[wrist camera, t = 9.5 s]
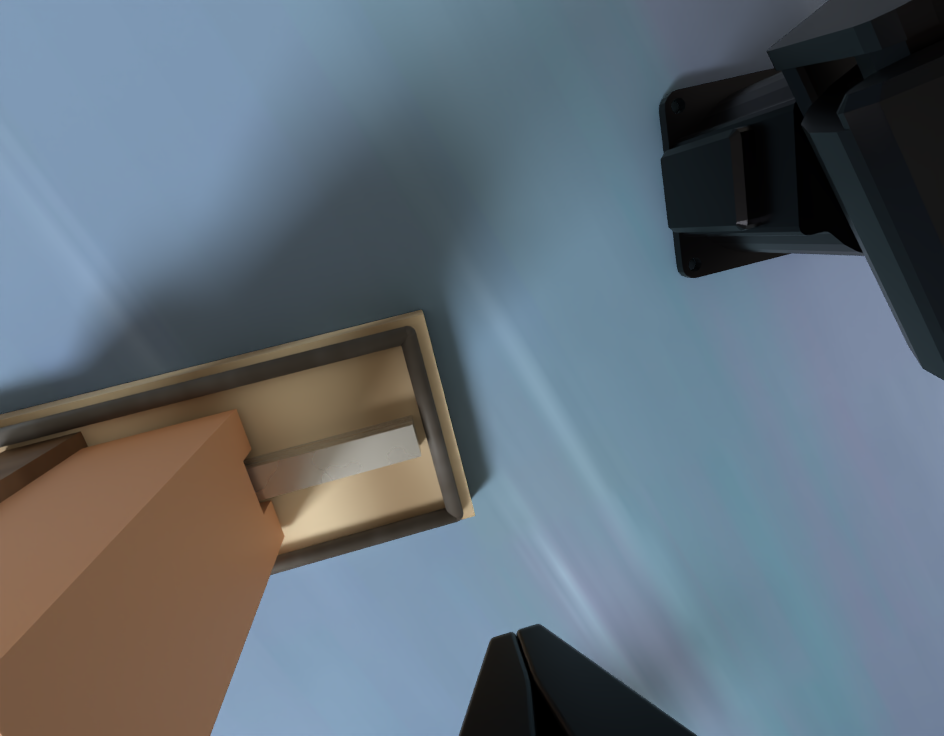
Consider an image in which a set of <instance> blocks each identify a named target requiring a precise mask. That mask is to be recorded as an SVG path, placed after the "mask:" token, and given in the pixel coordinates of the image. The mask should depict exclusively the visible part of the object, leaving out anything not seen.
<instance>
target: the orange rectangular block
mask: <svg viewBox="0 0 944 736" xmlns="http://www.w3.org/2000/svg"><path fill="white" fill-rule="evenodd" d="M250 451H251V446H250V443H249V441H248V438H247V435H246V433H245V430H244V428H243V425H242V422H241V420H240V417H239V414H238V412H237V409H233V410H230V411H226V412H222V413H218V414H214V415H210V416H206V417H202V418H198V419H195V420H191V421H187V422H183V423H179V424H175V425H171V426H167V427H164V428H160V429H156V430H152V431H148V432H144V433H140V434H136V435H132V436H129V437H125V438H121V439H117V440H113V441H109V442H105V443H101V444H98V445H94V446H90V447H86V448H82V449H81V450H79V451H77V452H76V453H74V454H73V455H71V456H70V457H68V458H67V459H65V460H64V461H62V462H61V463H59V464H58V465H56V466H55V467H53V468H52V469H50V470H49V471H47V472H46V473H44V474H43V475H41V476H40V477H38V478H37V479H35V480H34V481H32V482H31V483H29V484H28V485H26V486H25V487H23V488H22V489H20V490H19V491H17V492H16V493H14V494H13V495H11V496H10V497H8V498H7V499H5V500H4V501H2V502H1V503H0V736H210V734H211V732H212V729H213V726H214V724H215V721H216V718H217V716H218V713H219V710H220V708H221V705H222V702H223V700H224V697H225V694H226V692H227V689H228V686H229V684H230V681H231V678H232V676H233V673H234V670H235V668H236V665H237V662H238V660H239V657H240V654H241V652H242V649H243V646H244V644H245V641H246V638H247V636H248V633H249V630H250V628H251V625H252V622H253V620H254V617H255V614H256V612H257V609H258V606H259V604H260V601H261V598H262V596H263V593H264V590H265V587H266V585H267V582H268V579H269V577H270V574H271V571H272V569H273V566H274V563H275V561H276V558H277V555H278V553H279V550H280V547H281V545H282V542H283V539H284V537H285V536H284V533H283V531H282V528H281V525H280V523H279V520H278V517H277V515H276V512H275V509H274V507H273V504H272V502H271V500H269V501H266V502H262V503H259V501H258V498H257V496H256V493H255V491H254V488H253V485H252V483H251V480H250V478H249V475H248V472H247V470H246V467H245V465H244V462H243V461H244V459H245V458H246V457H247V455H248V454H249V452H250Z"/></svg>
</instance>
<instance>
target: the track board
mask: <svg viewBox="0 0 944 736" xmlns="http://www.w3.org/2000/svg"><path fill="white" fill-rule="evenodd" d="M233 409H237V412H238V414H239V417H240V420H241V422H242V425H243V428H244V430H245V433H246V435H247V438H248V441H249V443H250V446H251V451H250V452H249V454H248V455H247V457H246V458H245V459H248V458H252V457H256V456H260V455H263V454H267V453H271V452H275V451H278V450H282V449H286V448H290V447H293V446H297V445H301V444H305V443H308V442H312V441H316V440H320V439H323V438H327V437H331V436H335V435H338V434H342V433H346V432H350V431H354V430H357V429H361V428H365V427H369V426H372V425H376V424H380V423H384V422H387V421H391V420H395V419H399V418H402V417H406V416H410V415H412V418H413V421H414V425H415V429H416V432H417V436H418V439H419V443H420V448H421V457H417V458H414V459H410V460H406V461H403V462H399V463H395V464H392V465H388V466H384V467H381V468H377V469H373V470H370V471H366V472H362V473H359V474H355V475H351V476H348V477H344V478H341V479H337V480H333V481H330V482H326V483H322V484H319V485H315V486H311V487H308V488H304V489H300V490H297V491H293V492H289V493H286V494H282V495H278V496H275V497H271V498H267V499H264V500H260V501H259V503H262V502H266V501H269V500H271V502H272V504H273V507H274V509H275V512H276V515H277V517H278V520H279V523H280V525H281V528H282V531H283V533H284V536H285V537H284V539H283V542H282V545H281V547H280V550H279V553H278V555H277V558H276V561H275V563H274V566H273V569H272V571H271V574H270V575H272V574H276V573H279V572H283V571H286V570H290V569H293V568H297V567H300V566H304V565H307V564H311V563H314V562H318V561H321V560H325V559H328V558H332V557H335V556H339V555H342V554H346V553H349V552H353V551H356V550H360V549H363V548H367V547H370V546H374V545H377V544H381V543H384V542H388V541H391V540H395V539H398V538H402V537H405V536H409V535H412V534H416V533H419V532H423V531H426V530H430V529H433V528H437V527H440V526H444V525H447V524H451V523H454V522H458V521H460V520H462V519H465V518H469V517H472V516H475V513H474V509H473V505H472V501H471V497H470V493H469V489H468V486H467V482H466V478H465V474H464V470H463V466H462V462H461V458H460V454H459V450H458V447H457V443H456V439H455V435H454V431H453V427H452V423H451V419H450V415H449V411H448V408H447V404H446V400H445V396H444V392H443V388H442V384H441V380H440V376H439V372H438V369H437V365H436V361H435V357H434V353H433V349H432V345H431V341H430V337H429V333H428V329H427V326H426V322H425V318H424V314H423V311H422V310H418V311H414V312H410V313H406V314H402V315H398V316H394V317H390V318H386V319H382V320H378V321H374V322H370V323H366V324H362V325H358V326H354V327H350V328H346V329H342V330H338V331H334V332H330V333H326V334H322V335H318V336H314V337H310V338H306V339H302V340H298V341H294V342H290V343H286V344H282V345H278V346H274V347H270V348H266V349H262V350H258V351H254V352H250V353H245V354H241V355H237V356H233V357H229V358H225V359H221V360H217V361H213V362H209V363H205V364H201V365H197V366H193V367H189V368H185V369H181V370H177V371H173V372H169V373H165V374H161V375H157V376H153V377H149V378H145V379H141V380H137V381H133V382H129V383H125V384H121V385H117V386H113V387H109V388H105V389H101V390H97V391H93V392H89V393H85V394H81V395H77V396H73V397H69V398H65V399H61V400H57V401H53V402H49V403H45V404H41V405H37V406H33V407H29V408H25V409H21V410H17V411H13V412H9V413H5V414H1V415H0V453H1V452H3V451H5V450H9V449H13V448H17V447H21V446H25V445H29V444H33V443H37V442H41V441H45V440H49V439H52V438H56V437H60V436H64V435H68V434H72V433H76V432H80V431H81V433H82V435H83V437H84V439H85V441H86V443H87V445H88V447H90V446H94V445H98V444H101V443H105V442H109V441H113V440H117V439H121V438H125V437H129V436H132V435H136V434H140V433H144V432H148V431H152V430H156V429H160V428H164V427H167V426H171V425H175V424H179V423H183V422H187V421H191V420H195V419H198V418H202V417H206V416H210V415H214V414H218V413H222V412H226V411H230V410H233ZM245 459H244V460H245Z"/></svg>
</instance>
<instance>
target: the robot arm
mask: <svg viewBox="0 0 944 736" xmlns="http://www.w3.org/2000/svg"><path fill="white" fill-rule="evenodd" d="M767 53H768V55H769V57H770V59H771V61H772V64H773V66H774V68H773V69H769V70H764V71H760V72H755V73H751V74H746V75H742V76H737V77H733V78H728V79H724V80H719V81H715V82H710V83H706V84H701V85H697V86H692V87H688V88H683V89H679V90H676V91H673V92H671V93H669V94H668V95H666V96H665V97H664V98H663V99H662V100H661V103H660V105H659V116H660V124H661V133H662V142H663V151H664V154H663V156H662V158H661V168H662V176H663V185H664V193H665V202H666V211H667V219H668V227H669V228H670V229H671V230H672V231H673V238H674V247H675V255H676V264H677V269H678V272H679V273H680V274H681V275H682V276H684V277H688V278H697V277H701V276H705V275H709V274H713V273H717V272H721V271H725V270H729V269H732V268H736V267H740V266H744V265H748V264H752V263H756V262H760V261H764V260H768V259H772V258H776V257H779V256H783V255H787V254H791V253H796V254H826V255H855V256H865V258H866V260H867V262H868V264H869V266H870V268H871V270H872V272H873V274H874V276H875V278H876V280H877V282H878V284H879V286H880V289H881V291H882V293H883V295H884V297H885V299H886V301H887V303H888V305H889V307H890V309H891V311H892V313H893V315H894V317H895V319H896V322H897V324H898V326H899V328H900V330H901V332H902V334H903V336H904V338H905V340H906V342H907V344H908V346H909V348H910V350H911V351H912V353H913V354H914V356H915V357H916V359H917V360H918V362H919V363H920V365H921V366H922V368H923V369H925V370H926V371H928V372H930V373H932V374H933V375H935V376H937V377H939V378H941V379H942V380H944V0H829V1H828V2H826V3H825V4H824V5H823V6H821V7H820V8H819V9H818V10H817V11H815V12H814V13H813V14H812V15H810V16H809V17H808V18H807V19H805V20H804V21H803V22H802V23H800V24H799V25H798V26H797V27H795V28H794V29H793V30H792V31H790V32H789V33H788V34H787V35H785V36H784V37H783V38H782V39H780V40H779V41H778V42H777V43H775V44H774V45H773V46H772V47H770V48H769V49H768V50H767ZM673 101H676V102H677V103H678V105H679V112H678V113H677V114H676V113H674V112H673V111H672V108H671V106H672V102H673ZM691 259H694V260H695V267H694V268H693V269H692V270H690V269H689V262H690V260H691ZM516 635H517V636H516ZM459 736H697V735H696V734H694V733H693V732H691V731H690V730H689V729H687V728H686V727H684V726H683V725H682V724H680V723H679V722H677V721H676V720H675V719H673V718H672V717H670V716H669V715H668V714H666V713H665V712H663V711H662V710H660V709H659V708H658V707H656V706H655V705H653V704H652V703H651V702H649V701H648V700H646V699H645V698H644V697H642V696H641V695H639V694H638V693H637V692H635V691H634V690H632V689H631V688H629V687H628V686H627V685H625V684H624V683H622V682H621V681H620V680H618V679H617V678H615V677H614V676H613V675H611V674H610V673H608V672H607V671H606V670H604V669H603V668H601V667H600V666H598V665H597V664H596V663H594V662H593V661H591V660H590V659H589V658H587V657H586V656H584V655H583V654H582V653H580V652H579V651H577V650H576V649H575V648H573V647H572V646H570V645H569V644H568V643H566V642H565V641H563V640H562V639H560V638H559V637H558V636H556V635H555V634H553V633H552V632H551V631H549V630H548V629H546V628H545V627H544V626H542V625H540V624H535V625H532V626H529V627H526V628H522V629H519V630H518V631H517V634H515V633H513V632H509V633H506V634H503V635H500V636H496V637H493V638H492V639H491V640H490V642H489V645H488V648H487V651H486V654H485V657H484V660H483V663H482V666H481V669H480V672H479V675H478V678H477V682H476V685H475V688H474V691H473V694H472V697H471V700H470V703H469V706H468V709H467V712H466V715H465V718H464V721H463V724H462V727H461V730H460V733H459Z"/></svg>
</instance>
